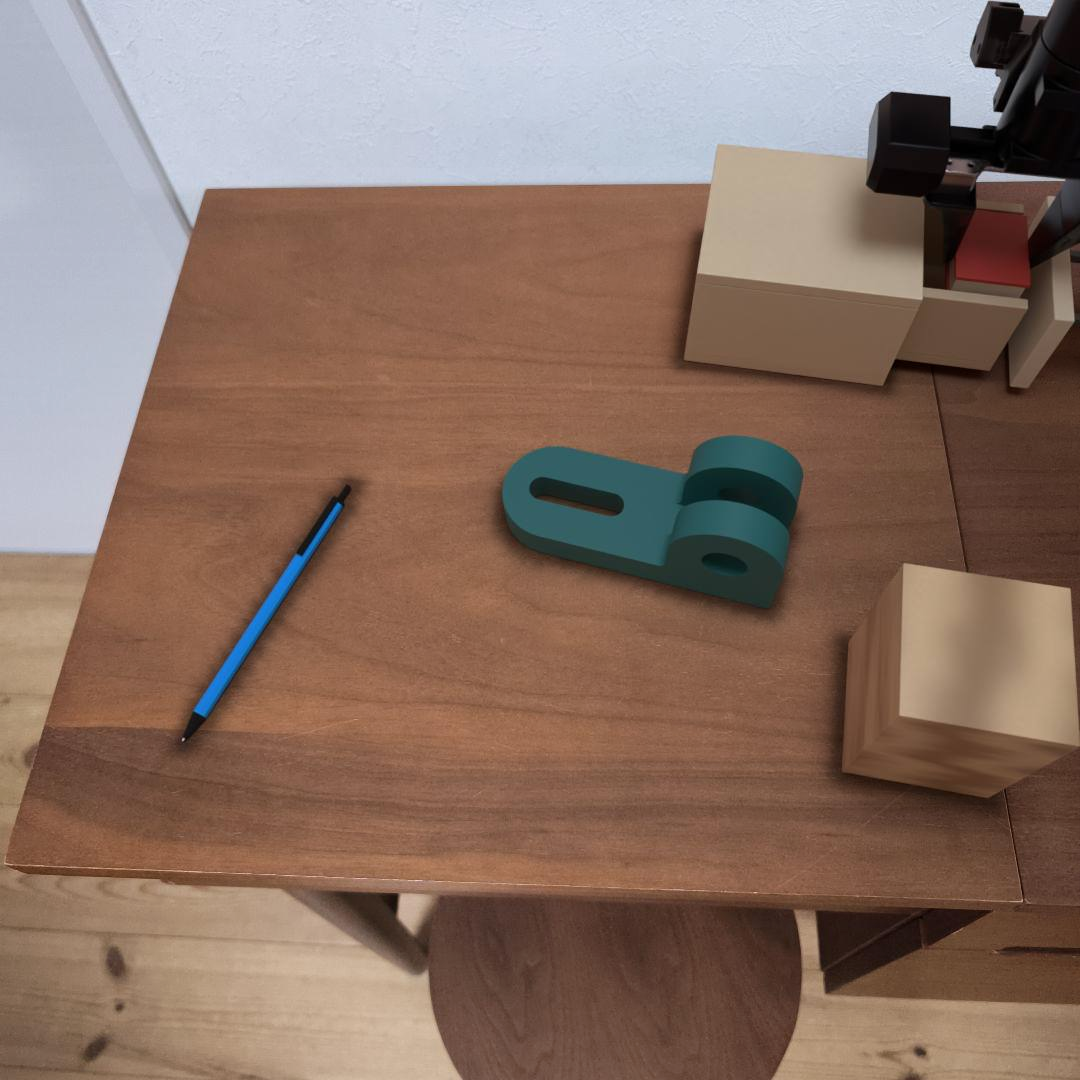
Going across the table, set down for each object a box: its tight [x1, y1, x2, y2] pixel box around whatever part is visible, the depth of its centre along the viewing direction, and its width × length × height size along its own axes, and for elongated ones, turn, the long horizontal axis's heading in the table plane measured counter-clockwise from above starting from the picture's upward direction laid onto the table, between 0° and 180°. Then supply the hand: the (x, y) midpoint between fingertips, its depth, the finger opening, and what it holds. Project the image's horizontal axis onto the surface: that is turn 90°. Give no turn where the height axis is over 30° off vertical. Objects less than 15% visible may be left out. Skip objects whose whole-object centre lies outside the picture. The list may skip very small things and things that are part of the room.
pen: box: [181, 484, 352, 742], centre depth 59 cm, size 1×19×1 cm, turn 154°
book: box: [945, 210, 1031, 298], centre depth 61 cm, size 4×6×2 cm
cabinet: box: [683, 143, 925, 387], centre depth 65 cm, size 14×12×9 cm
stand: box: [841, 562, 1080, 799], centre depth 50 cm, size 8×8×11 cm
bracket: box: [501, 434, 804, 610], centre depth 58 cm, size 18×7×8 cm, turn 73°
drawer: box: [895, 195, 1080, 389], centre depth 63 cm, size 18×11×7 cm, turn 79°
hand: (983, 262), depth 61 cm, fingers closed on book, 4 cm apart
